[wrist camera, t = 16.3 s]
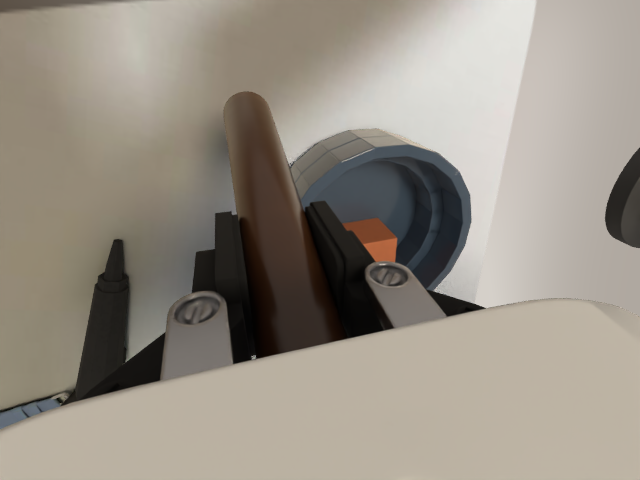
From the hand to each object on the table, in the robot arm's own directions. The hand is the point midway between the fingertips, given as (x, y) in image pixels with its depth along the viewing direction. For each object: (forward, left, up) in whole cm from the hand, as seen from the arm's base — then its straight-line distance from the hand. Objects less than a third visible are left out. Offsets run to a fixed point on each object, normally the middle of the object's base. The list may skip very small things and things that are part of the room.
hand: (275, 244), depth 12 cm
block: (-9, +9, -14) cm, 20 cm away
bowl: (-9, +7, -15) cm, 19 cm away
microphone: (+10, +6, -14) cm, 19 cm away
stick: (0, -3, -8) cm, 9 cm away
